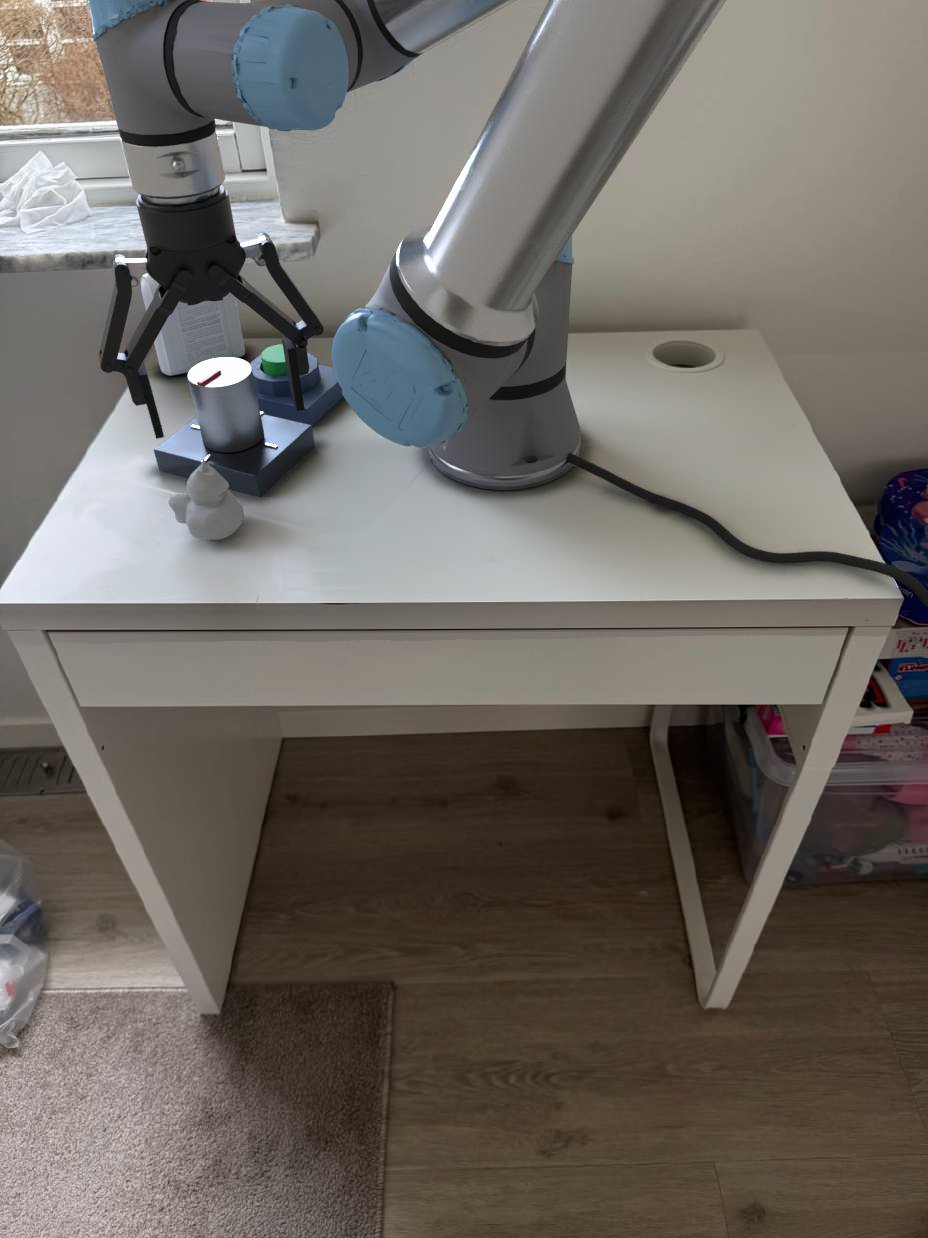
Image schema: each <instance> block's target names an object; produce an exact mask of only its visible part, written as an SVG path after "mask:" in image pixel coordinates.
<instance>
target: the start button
mask: <svg viewBox="0 0 928 1238" xmlns="http://www.w3.org/2000/svg"><path fill="white" fill-rule="evenodd" d="M260 355H261V359H262V365H263V370H264V372H265V374H268V375H273V376H287V369H286V362H285V356H284V350H283V344H282V343H278V344H274V345H270V346H268V347H266V348H265V349H263V350H262V351H261V353H260Z"/></svg>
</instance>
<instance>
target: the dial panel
mask: <svg viewBox="0 0 928 1238" xmlns="http://www.w3.org/2000/svg"><path fill="white" fill-rule="evenodd" d="M260 414H261V419H262V424H263V430H264V436H263V438H262V440H261V441H260V442H259V443H258V444H256V445H255V446H253V447H251V448H249V449H246V450H243V451H238V452H231V453H223V452H216V451H213V450H210V449H208V448H207V447H206V446H205V445H204V443H203V440H202V436H201V432H200V428H199V423H198V419H197V415H196V416H194V418H192V419H191V420H190V421H188V422H187V423H186V424H184V425H183V426H182V427H181V428H179V429H178V430H176V431H175V432H174V433H173V434H172V435H170V436H169V437H168V438H166V440H164V441H163V442H161V443H160V444H159V445H157V446H156V447H155V448H154V449H153V453H154V457H155V460H156V464H157V467H158V470H159V472H163V473H166V474H170V475H175V476H178V477H180V478H185V479H187V480H188V479H189V477H190V475H191V474H192V473H193V472H194V471H195V470H196V469H197V468H198V467H199V466H200V465H201V463H202V460H203V458H204V459H205V462H206V463H207V464H209V465H210V466H211V467H213V468H214V469H215V470H216V471H217V472H218V473H219V474H220V475H221V476H222V477H223V478H224V479H225V480H226V481H227V482H228V484H229V488H228V490H229V491H234V492H238V493H242V494H245V495H248V496H253V497H257V498H261V497H262V496H264V494H266V493H267V492H268V491H269V490H270V489H271V488H272V487H273V486H274V485H275V484H276V483H277V482H278V481H280V480H281V479H282V478H283V477H284V476H285V475H286V474H287V473H288V472H289V471H290V470H291V469H292V468H293V467H294V466H296V465H297V464H298V463H299V462H300V461H301V460H302V459H303V458H304V457H305V456H306V455H308V453H309V452H311V450H313V449H314V448H315V438H314V431H313V425H308V424H304V423H299V422H295V421H291V420H286V419H282V418H278V417H274V416H269V415H265V414H264V412H262V411H261V412H260Z"/></svg>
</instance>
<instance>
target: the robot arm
mask: <svg viewBox="0 0 928 1238" xmlns="http://www.w3.org/2000/svg"><path fill="white" fill-rule="evenodd" d="M514 2H517V0H256V1H252V2H222V1H206V0H87V5H88V10H89V17H90V22H91V28H92V39H93V42H95V45H96V47H97V51H98V55H99V59H100V63H101V67H102V70H103V75H104V79H105V83H106V87H107V90H108V95H109V98H110V102H111V107H112V110H113V115H114V118H115V122H116V126H117V131H118V134H119V137H120V138H119V141H120V143H121V144H120V145H121V148H122V153H123V155H124V160H125V163H126V168H127V173H128V176H129V180H130V183H131V187H132V190H133V191H134V192H136V193H137V194H138V196H137V198H136V200H135V204H136V208H137V213H138V216H139V217H138V218H139V221H140V224H141V225H140V226H141V230H142V232H143V238H144V241H145V246H146V254H145V257H142V258H141V257H140V258H139V257H137V258H126V256H125V255H123V254H119V253H118V254H115V255H114V256H113V257H112V261H111V262H112V270H113V275H114V280H115V281H114V285H113V289H112V293H111V299H110V302H109V307H108V311H107V316H106V321H105V325H104V328H103V332H102V333H103V334H102V338H101V342H100V347H99V350H98V359H99V367H100V370H101V371H102V372H104V373H107V374H110V373H113V372H114V373H115V372H116V373H117V372H118V373H120V374H122V375H123V376H124V377H125V381H126V384H127V387H128V391H129V394H130V398H131V401H132V404H134V405H135V406H136V407H137V406H142V405H146V407H147V411H148V415H149V419H150V421H151V426H152V429H153V432H154V436H155V439H163V438H165V434H164V431H163V430H164V429H163V426H162V423H161V419H160V414H159V411H158V407H157V404H156V400H155V396H154V393H153V388H152V386H151V381H150V379H149V374H148V371H147V367H146V363H145V359H146V357H147V355H148V354H149V352H150V350H151V348H152V347H153V345H154V341H155V340H156V338H157V336H158V334H159V333H160V331H161V329H162V327H163V326H164V324H165V322H166V320H167V319H168V317H169V315H171V314H172V313H173V312H174V310H175V308H176V306H177V305H178V303H179V301H180V302H182V303H186V304H188V306H190V305H196V304H199V303H201V302H203V301H221V300H223V298H224V297H225V296H227V295H228V294H229V293H231V294H232V295H234V296H235V298H236V300H238V301H240V302H241V303H242V304H245V305H246V306H248V307H249V308H250V309H252V310H253V312H255V313H256V314H257V315H259V316H260V317H261V318H262V319H263V320H265V321H266V322H267V323H268V324H269V325H271V326H272V327H274V329H276V330H277V331H278V332H280V333H281V334H282V335H283V337H281V344H283V350H284V356H285V362H286V369H287V375H288V381H289V387H290V393H291V399H292V401H293V403H294V405H295V408H296V410H297V411H301V410H305V408H304V402H303V395H302V389H301V382H300V376H299V375H303V374H308V372H309V362H308V355H307V352H308V349H307V346H308V345H309V344H308V343H309V342H308V341H309V339H311V338H313V337H314V336H316V337H319V336H321V335H322V334H323V333H324V331H325V330H324V328H325V327H324V326H323V324H322V322H321V320H320V319H319V317H318V315H317V314H316V312H315V311H314V309H313V308H312V306H311V305H310V303H309V302H308V301H307V300H306V298H305V297H304V295H303V294H302V292H301V291H300V289H299V288H298V287H297V285H296V284H295V282H294V281H293V279H292V278H291V277H290V275H289V274H288V272H287V271H286V270H285V269H284V267H283V265H282V264H281V262H280V259H279V256H278V251H277V248H276V246H275V243H274V242H273V240H272V239H271V236H270V235H269V234H268V233H266V232H260V233H259V234H257V236H256V238H255V239H253V240H250V241H246V242H240V241H239V240H238V238H237V234H236V229H235V222H234V217H233V212H232V206H231V200H230V195H229V191H228V189H227V188H226V187H224V185H223V183H224V182H225V180H226V175H225V168H224V165H223V164H224V163H223V159H222V154H221V147H220V143H219V138H218V133H217V124H216V120H219V121H227V122H231V123H239V124H245V125H251V126H258V127H263V128H268V129H270V130H276V131H278V132H291V131H312V132H313V131H318V130H322V129H324V128H326V127H327V126H329V125H330V124H331V123H332V122H333V121H334V120H335V117H336V113H337V111H338V110H339V109H341V108H342V107H343V105H344V102H345V100H346V96H347V93H350V92H352V91H355V90H358V89H359V88H362V87H365V86H367V85H371V84H372V83H375V82H377V83H378V82H381V81H384V80H386V79H389V78H391V77H392V76H394V75H396V74H398V73H400V72H401V71H402V70H403V69H405V68H406V67H407V66H408V65H410V64H411V63H412V62H413V61H414V60H415V59H418V58H419V57H420V56H422V55H423V54H424V53H427V52H428V51H430V50H432V49H434V48H435V47H437V46H439V45H441V44H442V43H444V42H445V41H448V40H449V39H451V38H453V37H454V36H456V35H459V34H460V33H461V32H464V31H465V30H467V29H468V28H470V27H472V26H475V25H476V24H478V23H479V22H481V21H483V20H485V19H487V18H488V17H490V16H491V15H493V14H495V13H497V12H499V11H500V10H503V9H504V8H506V7H507V6H509V5H511V4H513V3H514ZM726 2H727V0H547V3H546V4H545V7H544V8H543V10H542V13H541V14H540V17H539V18H538V20H537V22H536V25H535V26H534V28H533V30H532V32H531V34H530V36H529V38H528V40H527V42H526V44H525V45H524V47H523V50H522V52H521V54H520V55H519V58H518V59H517V61H516V63H515V65H514V66H513V69H512V71H511V73H510V75H509V76H508V79H507V81H506V83H505V85H504V87H503V88H502V90H501V93H500V94H499V96H498V98H497V100H496V102H495V104H494V106H493V108H492V110H491V112H490V114H489V116H488V117H487V120H486V121H485V124H484V126H483V128H482V129H481V132H480V133H479V135H478V137H477V140H476V142H475V143H474V145H473V147H472V149H471V151H470V153H469V155H468V156H467V159H466V161H465V162H464V165H463V167H462V169H461V171H460V172H459V174H458V176H457V178H456V180H455V183H454V185H453V186H452V188H451V190H450V192H449V194H448V196H447V198H446V200H445V202H444V203H443V206H442V208H441V210H440V211H439V213H438V215H437V218H436V219H435V221H434V222H433V223H434V224H433V225H426V226H425V225H424V226H420V227H418V228H415V229H413V230H411V231H410V232H408V233H407V234H406V235H405V236H404V237H403V239H402V241H401V242H400V243H399V246H398V247H397V249H396V251H395V254H394V255H393V257H392V259H391V261H390V264H389V265H388V267H387V269H386V272H385V273H384V276H383V277H382V279H381V281H380V283H379V285H378V288H377V290H376V291H375V293H374V295H373V296H372V297H371V299H370V300H369V302H367V304H366V305H364V307H363V306H362V307H360V308H358V309H355V310H353V312H350V313H349V315H348V316H347V317H346V318H345V321H344V322H343V323H342V324H341V325H339V328H338V329H337V331H336V332H335V334H334V337H333V340H332V344H331V365H332V366H331V367H333V371H334V375H335V378H336V380H337V382H338V383H339V385H340V386H341V388H342V394H343V396H344V397H343V398H344V399H345V401H346V402H347V404H348V405H349V407H350V408H351V410H352V411H353V413H354V414H355V415H356V416H357V417H358V418H359V419H360V421H362V422H363V423H364V424H365V425H366V426H367V427H368V428H369V429H371V430H372V431H374V432H375V433H376V434H377V435H379V436H381V437H383V439H386V440H387V441H390V442H392V443H395V444H397V445H400V446H403V447H412V446H413V447H415V448H419V449H420V448H421V449H422V448H423V449H425V448H428V456H429V458H430V461H431V462H432V464H433V466H434V467H435V468H436V469H437V470H438V471H439V472H440V473H442V474H443V475H444V476H445V477H448V478H450V479H452V480H454V481H456V482H457V483H461V484H463V485H467V486H470V487H474V488H479V489H485V490H495V491H514V490H522V489H528V488H533V487H538V486H542V485H544V484H547V483H550V482H552V481H555V480H557V479H559V478H560V477H562V476H563V475H565V474H567V473H568V472H569V471H570V470H571V469H572V468H573V467H574V466H575V467H578V468H580V469H582V470H584V471H585V472H587V473H590V474H592V475H593V476H596V477H598V478H600V479H602V480H604V481H606V482H608V483H610V484H611V485H614V486H615V487H617V488H620V489H622V490H623V491H625V492H627V493H629V494H630V495H633V496H636V497H638V498H640V499H642V500H645V501H647V502H649V503H653V504H654V505H657V506H660V507H664V508H667V509H669V510H672V511H675V512H678V513H679V514H683V515H685V516H687V517H689V518H691V519H694V520H696V521H698V522H700V523H701V524H703V525H704V526H706V527H708V529H710V530H711V531H712V532H714V534H716V535H717V537H719V538H720V539H721V540H722V541H723V542H724V543H725V544H727V545H728V546H729V547H730V548H732V549H733V550H735V551H736V552H738V553H739V554H741V555H744V556H746V557H749V558H751V559H754V560H757V561H761V562H766V563H771V564H799V563H813V562H814V563H815V562H816V563H818V562H819V563H820V562H821V563H822V562H823V563H825V562H826V563H835V564H841V565H845V566H850V567H854V568H857V569H861V570H862V569H863V570H868V571H871V572H874V573H878V574H881V575H884V576H887V577H889V578H892V579H894V580H896V581H898V582H899V583H901V584H903V585H904V586H906V587H907V588H908V589H909V590H911V592H912V593H914V595H915V596H916V597H917V598H918V599H919V601H920V602H921V604H922V605H924V606H925V607H926V608H928V589H927V588H926V587H925V586H924V585H923V584H922V583H921V582H920V581H919V580H918V579H917V578H915V576H913V575H911V574H910V573H908V572H906V571H905V570H903V569H901V568H899V567H896V566H895V565H891V564H888V563H885V562H882V561H877V560H874V559H870V558H865V557H860V556H855V555H850V554H847V553H841V552H837V551H836V552H835V551H824V550H823V551H822V550H819V551H817V550H815V551H800V552H799V551H798V552H772V551H767V550H764V549H763V550H762V549H759V548H756V547H753V546H751V545H749V544H747V543H745V542H744V541H742V540H740V539H739V538H738V537H736V536H735V535H733V533H731V532H730V531H729V530H728V529H727V528H726V527H725V526H724V525H723V524H721V523H720V522H719V521H717V519H715V518H714V517H712V516H711V515H709V514H707V513H705V512H704V511H702V510H699V509H698V508H696V507H694V506H690V505H689V504H686V503H683V502H680V501H678V500H675V499H672V498H669V497H666V496H663V495H661V494H658V493H655V492H652V491H650V490H648V489H645V488H643V487H641V486H639V485H637V484H634V483H633V482H630V481H628V480H627V479H625V478H623V477H621V476H619V475H617V474H615V473H613V472H611V471H609V470H606V469H605V468H604V467H601V466H599V465H597V464H595V463H593V462H590V461H589V460H587V459H584V458H582V457H580V453H581V444H582V442H581V441H582V432H581V427H580V422H579V419H578V415H577V413H576V408H575V406H574V405H575V404H574V402H573V399H572V396H571V393H570V389H569V386H568V383H567V378H566V377H567V360H568V359H567V358H568V346H569V345H568V343H569V326H570V311H571V310H570V309H571V297H572V296H571V293H572V279H573V278H572V277H573V265H575V258H574V257H573V235H574V233H575V231H576V230H577V228H578V227H579V225H580V224H581V222H582V221H583V220H584V218H585V216H586V215H587V213H588V212H589V210H590V209H591V207H592V206H593V204H594V203H595V201H596V199H597V198H598V196H599V195H600V193H601V192H602V191H603V189H604V188H605V186H606V184H607V183H608V181H609V180H610V178H611V176H612V175H613V174H614V172H615V170H616V169H617V168H618V166H619V165H620V163H621V162H622V160H623V159H624V157H625V155H626V154H627V152H628V151H629V149H630V148H631V146H632V145H633V143H634V141H635V140H636V139H637V138H638V136H639V135H640V134H641V133H640V132H641V131H642V130H643V128H644V127H645V125H646V124H647V122H648V120H650V118H651V116H652V114H653V113H654V111H655V110H656V108H657V107H658V105H659V104H660V103H661V101H662V99H663V98H664V96H665V95H666V93H667V92H668V90H669V88H671V85H672V84H673V82H674V81H675V80H676V79H677V76H678V75H679V73H680V72H681V70H682V69H683V68H684V66H685V64H686V63H687V61H688V60H689V58H690V57H691V55H692V54H693V52H694V50H695V49H696V48H697V46H698V44H699V43H700V41H701V40H702V38H703V37H704V35H705V34H706V32H707V31H708V30H709V28H710V26H711V25H712V23H713V22H714V20H715V19H716V18H717V16H718V14H719V13H720V11H721V10H722V8H723V6H724V5H725V4H726ZM246 259H250V260H253V261H254V263H255V265H257V266H258V267H265V268H266V269H267V271H268V274H269V275H270V277H271V278H272V279H273V281H274V283H275V284H276V285H277V287H279V289H280V290H281V292H282V293H283V295H284V296H285V297H286V299H287V301H288V302H289V303H290V304H291V306H292V307H293V309H294V310H295V312H296V313H297V315H298V316H299V317H300V319H301V320H300V321H299V322H296V320H294V319H293V318H291V316H289V315H287V313H285V311H283V310H282V309H281V308H279V307H278V306H277V305H276V304H275V303H273V302H272V301H271V300H270V299H269V298H267V297H266V296H265V295H264V294H262V293H261V292H260V291H259V290H258V289H256V288H255V287H254V286H253V285H252V284H251V283H249V282H248V281H247V279H246V278H244V276H242V275H241V274H240V273H241V271H242V269H243V267H244V265H245V262H246ZM147 273H148V274H149V275H150V277H152V278H153V279H154V280H155V281H156V282H157V283H158V284H159V286H158V288H157V289H156V291H155V294H154V298H153V300H152V302H151V303H150V305H149V307H148V309H147V311H146V310H145V313H144V314H143V315H142V317H141V319H140V321H139V323H138V325H137V327H136V328H135V331H134V332H133V333H132V335H131V337H130V339H129V340H128V343H127V345H126V346H125V348H124V350H123V351H120V349H121V344H122V340H123V337H124V333H125V327H126V323H127V319H128V316H129V310H130V307H131V304H132V303H131V302H132V296H133V288H134V287H138V286H139V285H140V284H141V282H140V279H141V277H142V275H144V274H147Z"/></svg>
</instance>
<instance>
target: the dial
mask: <svg viewBox="0 0 928 1238" xmlns="http://www.w3.org/2000/svg"><path fill="white" fill-rule="evenodd" d="M186 377H187V381H188V385H189V390H190V394H191V398H192V403H193V407H194V411H195V415H196V416H197V419H198V423H199V428H200V432H201V436H202V440H203V443H204V445H205V446H206V447H207V448H208V449H210V450H213V451H216V452H223V453H231V452H238V451H243V450H246V449H249V448H251V447H253V446H255V445H256V444H258V443H259V442H260V441H261V440H262V438H263V436H264V430H263V424H262V419H261V414H260V408H259V403H258V398H257V392H256V387H255V382H254V377H253V371H252V367H251V365H250V362H248V360H245V359H242V358H240V357H239V358H232V357H222V358H214V359H210V360H206V361H203V362H201V363H199V364H197V365H195V366H194V367H192V368H191V369H190V371H189V372H187V376H186Z"/></svg>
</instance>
